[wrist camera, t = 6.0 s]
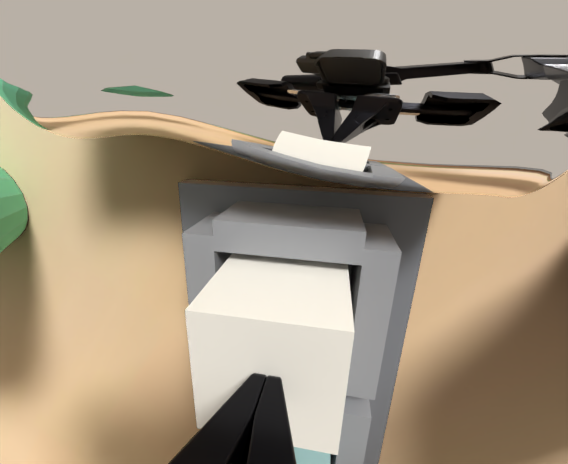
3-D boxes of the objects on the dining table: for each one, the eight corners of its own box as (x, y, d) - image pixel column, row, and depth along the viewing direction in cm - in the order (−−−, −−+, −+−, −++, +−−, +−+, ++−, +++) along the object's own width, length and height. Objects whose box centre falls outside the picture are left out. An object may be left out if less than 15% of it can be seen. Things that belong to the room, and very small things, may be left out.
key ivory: (346, 252, 12) (354, 332, 7) (336, 341, 13) (337, 454, 9) (240, 243, 12) (184, 310, 8) (242, 329, 14) (196, 428, 9)
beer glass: (141, 24, 13) (487, 41, 11) (116, 170, 13) (462, 216, 11) (-51, -206, 7) (741, -278, 4) (-108, 91, 6) (684, 171, 4)
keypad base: (426, 193, 12) (465, 220, 9) (360, 523, 21) (366, 610, 17) (188, 179, 14) (135, 196, 10) (214, 491, 22) (189, 564, 18)
